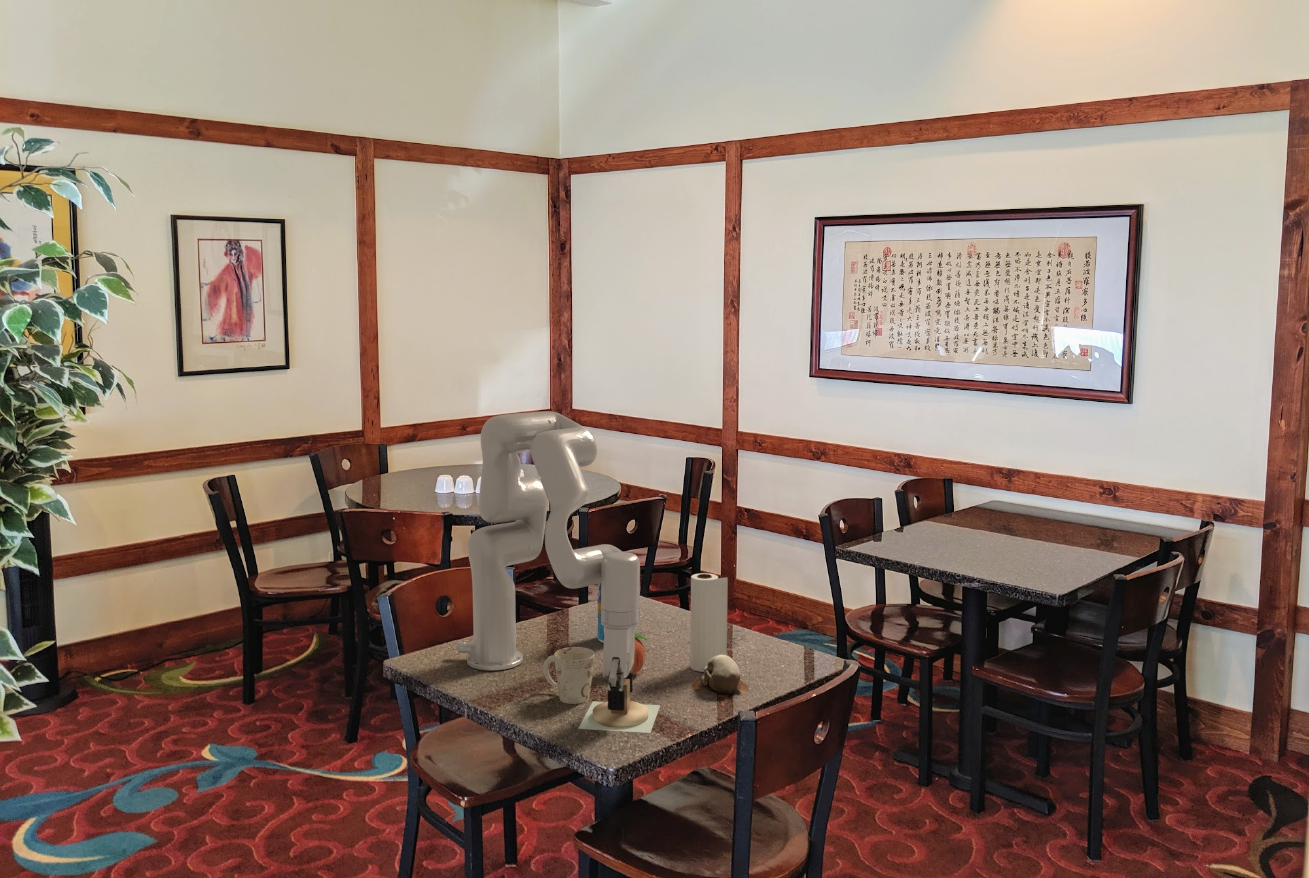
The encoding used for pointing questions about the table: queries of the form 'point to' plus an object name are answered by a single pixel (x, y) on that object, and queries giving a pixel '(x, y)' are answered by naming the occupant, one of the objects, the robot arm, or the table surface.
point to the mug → (572, 673)
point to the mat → (642, 728)
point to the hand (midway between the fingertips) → (620, 700)
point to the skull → (721, 677)
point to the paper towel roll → (707, 619)
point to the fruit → (638, 655)
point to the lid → (621, 712)
